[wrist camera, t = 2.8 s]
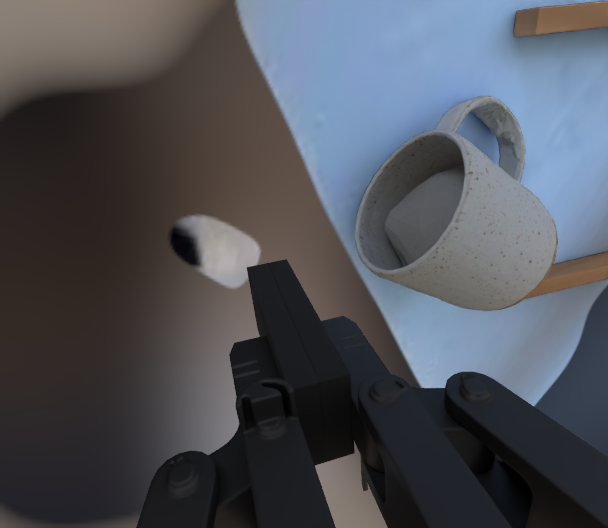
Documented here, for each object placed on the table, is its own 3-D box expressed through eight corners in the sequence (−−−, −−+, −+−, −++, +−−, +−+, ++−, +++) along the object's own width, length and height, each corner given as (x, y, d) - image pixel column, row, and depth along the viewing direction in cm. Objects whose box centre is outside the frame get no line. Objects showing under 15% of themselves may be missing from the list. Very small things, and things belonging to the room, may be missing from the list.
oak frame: (515, 10, 21) (538, 6, 20) (726, -10, 24) (759, -14, 23) (480, 294, 29) (495, 306, 28) (641, 256, 32) (662, 265, 31)
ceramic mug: (435, 282, 28) (517, 349, 21) (336, 239, 24) (396, 303, 18) (530, 135, 25) (659, 159, 18) (433, 63, 22) (547, 60, 15)
